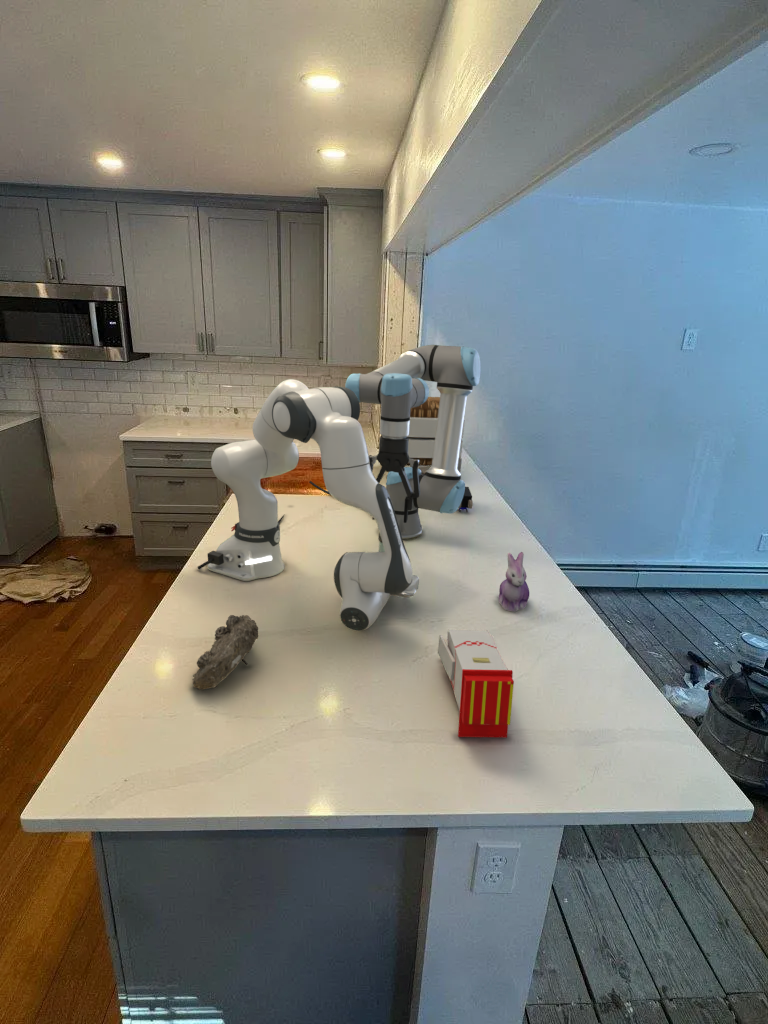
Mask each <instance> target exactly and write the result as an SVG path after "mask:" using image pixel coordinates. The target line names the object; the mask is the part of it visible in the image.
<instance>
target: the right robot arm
mask: <svg viewBox="0 0 768 1024" xmlns="http://www.w3.org/2000/svg"><path fill="white" fill-rule="evenodd" d="M481 366H482V365H481V359H480V354H479V352H478V350H477V349H476V348H474V347H469V346H461V345H460V346H459V345H457V346H456V345H441V344H426V345H421V346H418V347H415V348H412V349H409V350H407V351H404V352H402V354H400V355H399V357H398V358H397V359H395V360H393V361H391V362H389V363H386V364H385V365H383V366H381V367H379V368H377V369H374V370H372V371H370V372H367V373H365V374H364V373H351V374H349V376H347V379H346V381H345V386H344V387H345V388H348V389H350V390H352V391H353V392H354V393H355V394H356V396H357V398H358V400H359V404H360V403H364V404H375V405H380V415H379V416H380V418H379V434H380V436H379V440H378V441H379V442H378V453H377V455H372V454H369V461H370V467H371V471H372V472H373V469H374V465H375V464H376V462H377V461H378V463H379V465H380V466H381V467H380V470H379V472H378V475H377V476H376V477H375V479H376V480H377V482H378V483H379V484H381V481H382V479H383V477H384V475H385V473H387V472H388V473H387V475H386V482H385V488H386V489H387V491H388V493H389V496H390V499H391V502H392V505H393V508H394V511H395V515H396V518H397V522H398V525H399V529H400V532H401V536H402V539H403V541H410V540H415V539H418V538H420V537H421V536H422V535H423V525H422V524H421V518H420V515H419V509H420V510H424V511H425V510H426V511H430V512H437V513H440V514H449V515H452V514H454V513H456V512H457V511H458V510H459V506H460V504H461V501H462V499H463V495H464V491H465V487H466V482H465V481H464V480H462V473H461V474H460V472H459V471H458V470H457V466H458V459H459V451H460V444H461V440H462V438H461V436H462V429H463V421H464V420H465V413H466V406H467V399H468V396H469V395H470V394H471V393H472V392H473V389H474V387H477V386H478V385H479V384H480V380H481V375H482V374H481V373H482V372H481V369H482V367H481ZM427 382H432V383H436V389H437V391H438V392H439V393H440V395H439V397H440V402H439V410H438V418H437V427H436V435H435V443H434V451H433V459H432V465H430V466H429V468H428V469H426V471H425V474H422V470H421V468H419V466H418V465H419V459H416V460H415V459H411V458H409V455H408V443H409V439H408V437H407V436H408V435H409V425H410V409H411V408H414V407H417V406H420V405H421V404H423V403H424V402H425V401H426V400H427V398H428V397H430V387H429V385H428V383H427ZM464 422H465V421H464ZM407 463H410V466H407V465H406V464H407ZM309 484H310V485H312V486H313V487H314V488H316V489H317V490H320V491H321V492H323V493H324V494H327V495H329V496H330V497H331V496H332V495H331V494H330V493H329V492H328V491H327V489H324V488H322V487H320V486H319V485H317V484H316V483H314V482H313V481H311V480H309ZM332 497H333V496H332ZM371 517H372V516H371ZM371 519H372V520H374V521H375V519H374V518H373V517H372V518H371Z"/></svg>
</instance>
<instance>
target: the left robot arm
mask: <svg viewBox="0 0 768 1024" xmlns="http://www.w3.org/2000/svg"><path fill="white" fill-rule="evenodd" d="M360 415H361V405H360V403H359V400H358V398H357V396H356V394H355V393H354V392H353V391H352V390H350V389H348V388H345V386H335V385H334V386H331V387H329V386H319V387H312V388H309V387H308V386H307V385H306V384H305V383H303V382H302V381H301V380H298V379H291V378H290V379H285V380H283V381H281V382H280V383H279V384H278V385H277V386H276V387H275V388H274V389H273V390H271V393H269V395H268V396H267V398H266V399H265V401H264V403H263V404H262V406H261V408H260V409H259V411H258V413H257V415H256V417H255V418H254V421H253V423H252V434H253V437H254V439H249V440H248V439H247V440H242V441H234V442H233V441H232V442H229V443H227V444H223V445H221V446H219V447H216V448H215V450H214V451H213V452H212V455H211V458H210V466H211V470H212V472H213V475H214V477H216V478H217V479H218V480H219V481H220V482H222V483H224V484H225V485H227V486H228V487H229V488H230V489H231V491H232V492H233V494H234V497H235V499H236V504H237V512H238V522H236V523H235V524H234V525H233V526H232V527H231V528H230V531H231V532H233V531H234V533H233V534H231V536H229V537H228V538H227V539H225V540H224V541H222V542H221V543H220V544H219V545H218V547H217V548H216V550H212V551H209V552H207V554H206V555H207V561H205V562H204V563H201V564H200V565H198V566H197V567H196V568H197V569H198V570H201V569H202V568H205V567H206V566H207V570H208V571H211V572H214V573H217V574H220V575H223V576H227V577H229V578H233V579H237V580H238V581H239V580H240V581H242V582H249V581H254V580H257V579H265V578H271V577H273V576H277V575H279V574H281V573H282V572H283V571H284V570H285V567H286V566H285V562H284V560H283V556H282V551H281V545H280V541H281V526H280V525H281V524H279V522H278V521H279V504H278V503H279V502H278V499H277V496H276V495H275V494H274V493H273V492H271V491H270V490H268V489H266V488H262V484H261V479H266V478H272V477H277V476H281V475H284V474H286V473H289V472H291V471H293V470H294V469H296V468H297V466H298V463H299V460H300V452H299V449H298V446H297V444H296V443H295V442H294V440H297V441H299V442H301V443H304V444H308V442H310V440H311V439H312V440H313V441H315V443H316V445H318V448H319V451H320V459H321V460H320V461H321V462H320V463H321V470H322V478H323V482H324V487H325V488H326V489H325V490H326V491H328V492H329V493H330V494H331V495H332V497H333V498H334V499H335V500H337V501H338V502H340V503H342V504H344V505H347V506H350V507H353V508H356V509H359V510H361V511H364V512H365V513H367V514H368V515H369V516H371V517H373V518H374V519H375V520H374V521H375V523H376V525H377V529H378V533H379V532H380V536H381V539H382V543H383V546H384V550H385V552H379V551H346V552H344V553H343V554H342V555H341V557H340V558H339V559H338V561H337V562H336V565H335V566H334V570H333V581H334V582H333V583H334V586H335V589H336V591H337V593H338V595H339V597H340V598H341V605H340V606H341V607H340V609H339V619H340V621H341V623H342V624H343V625H344V626H345V627H346V628H347V629H349V630H352V631H356V632H357V631H358V632H361V631H365V630H367V629H369V628H371V626H373V625H374V623H375V622H376V620H378V618H379V616H380V615H381V613H382V610H383V608H384V607H385V606H386V604H387V603H388V601H389V599H390V597H391V596H393V597H398V598H404V599H407V598H411V597H414V596H415V594H416V593H417V591H418V589H419V586H420V577H419V576H418V575H416V574H414V571H413V566H412V562H411V558H410V556H409V554H408V552H407V549H406V547H405V543H404V540H403V539H402V536H401V532H400V529H399V525H398V522H397V518H396V515H395V511H394V508H393V505H392V502H391V499H390V496H389V493H388V491H387V489H386V485H385V486H384V485H383V484H381V483H378V482H377V480H376V477H375V475H374V473H373V470H372V471H371V467H370V461H369V455H370V454H369V449H368V444H367V441H366V436H365V433H364V430H363V427H362V425H361V423H360V422H359V418H360ZM331 495H330V496H331Z"/></svg>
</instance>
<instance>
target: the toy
mask: <svg viewBox="0 0 768 1024" xmlns="http://www.w3.org/2000/svg"><path fill="white" fill-rule="evenodd" d="M446 640H447V643H446V641H445V639H444V636H443V635H442V634H439V637H438V646H437V656H438V657H439V659H440V661H441V663H442V666H443V668H444V670H445V672H446V674H447V677H448V679H449V681H450V684H451V687H452V690H453V693H454V697H455V701H456V705H457V708H458V711H459V714H458V715H459V716H458V730H457V731H458V732H457V737H458V738H508V731H509V726H510V725H511V717H512V707H513V697H514V696H513V695H514V684H515V680H514V679H513V673H514V671H513V670H512V669H508V667H507V665H506V662H505V661H504V659H503V658H502V655H501V653H500V651H499V649H498V647H497V643H496V639H495V637H494V635H493V634H491V632H490V631H489V629H467V628H466V629H465V628H463V629H461V628H460V629H459V628H448V630H447V639H446Z"/></svg>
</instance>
